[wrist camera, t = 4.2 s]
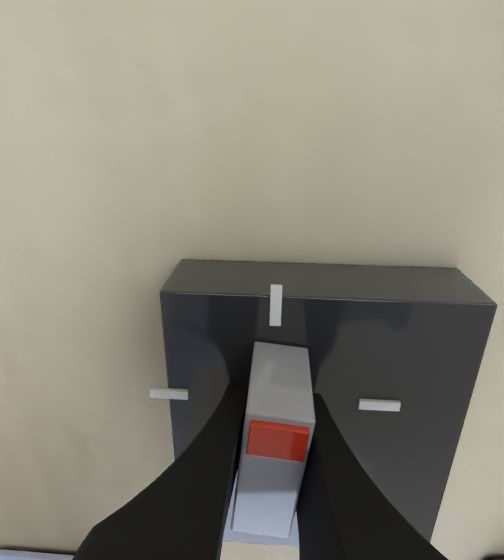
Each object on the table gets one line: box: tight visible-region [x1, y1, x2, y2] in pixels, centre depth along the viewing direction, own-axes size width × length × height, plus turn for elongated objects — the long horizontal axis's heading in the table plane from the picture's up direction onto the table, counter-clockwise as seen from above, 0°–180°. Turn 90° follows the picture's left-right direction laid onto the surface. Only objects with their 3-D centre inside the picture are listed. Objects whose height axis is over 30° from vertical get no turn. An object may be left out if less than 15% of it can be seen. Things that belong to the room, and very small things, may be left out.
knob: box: [231, 342, 316, 538], centre depth 12 cm, size 5×2×4 cm, turn 174°
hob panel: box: [149, 259, 497, 547], centre depth 16 cm, size 11×12×3 cm
